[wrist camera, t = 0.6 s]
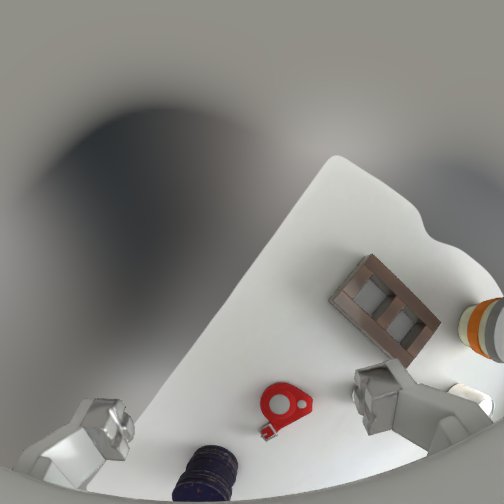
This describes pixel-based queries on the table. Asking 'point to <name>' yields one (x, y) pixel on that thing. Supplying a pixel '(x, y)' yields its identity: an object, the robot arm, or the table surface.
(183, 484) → the dark blue cylinder
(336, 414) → the table surface
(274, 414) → the tracker holder
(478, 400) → the can
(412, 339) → the holder
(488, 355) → the reusable coffee cup
